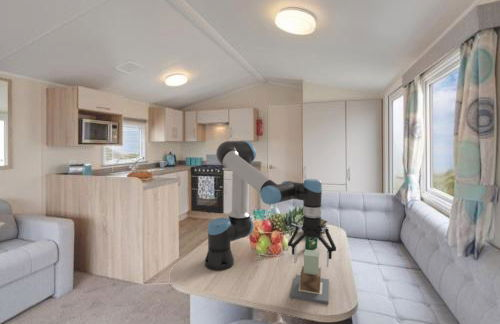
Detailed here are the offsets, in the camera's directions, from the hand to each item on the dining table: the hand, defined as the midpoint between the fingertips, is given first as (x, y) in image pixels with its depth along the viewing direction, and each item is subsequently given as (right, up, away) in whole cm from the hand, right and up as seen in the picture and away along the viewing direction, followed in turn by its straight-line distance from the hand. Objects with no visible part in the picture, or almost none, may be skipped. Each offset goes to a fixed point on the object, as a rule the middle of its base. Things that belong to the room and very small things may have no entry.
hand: (311, 263), depth 115 cm
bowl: (+19, -7, +72) cm, 75 cm away
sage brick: (0, -3, 0) cm, 3 cm away
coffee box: (+11, -9, +46) cm, 48 cm away
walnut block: (0, -10, +1) cm, 10 cm away
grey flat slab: (0, -12, +1) cm, 12 cm away
